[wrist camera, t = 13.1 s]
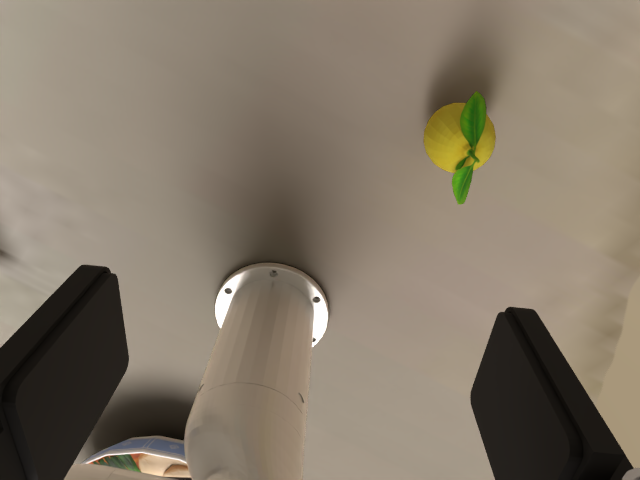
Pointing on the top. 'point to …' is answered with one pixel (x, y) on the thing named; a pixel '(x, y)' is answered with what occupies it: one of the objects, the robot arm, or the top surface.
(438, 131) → the lemon
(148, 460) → the ramen bowl
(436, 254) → the top surface
